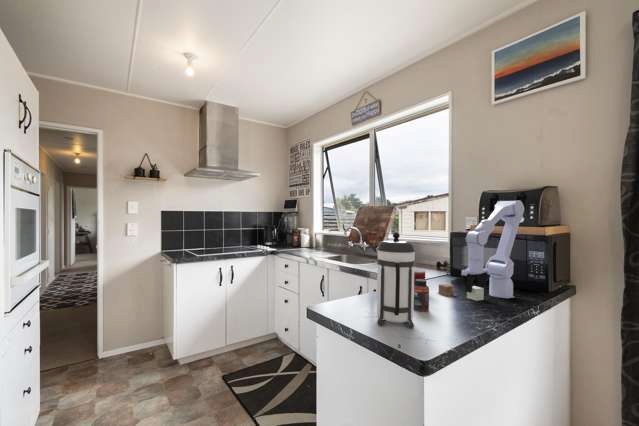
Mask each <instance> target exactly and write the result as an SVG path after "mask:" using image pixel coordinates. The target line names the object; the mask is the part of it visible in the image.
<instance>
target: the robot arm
mask: <svg viewBox="0 0 639 426" xmlns="http://www.w3.org/2000/svg"><path fill="white" fill-rule="evenodd" d="M524 213H525V206H524V203H523V202H522V200H520V199H519V200H498V201H497V202H496V204H494V210H493V211H492V212H491V214H490V215H489V216H488V218H487V219H482V220H481V221H480V222H479V224H478V225H477V226H476V227H475V228H474V230H470V231H468V232H467V234H466V237H465V242H466V244H467V245H466V246H467V248H468V256H467V257H468V258H467V260H468V263H467V266H468V267H466V269H461V273H460V277H461V280H462V281H463V283H464V288H465V291H466V293H467V292H470V293H471V292H472V286H474V285H473V284H474V280H475V278H477V279H476V280H477V287H481V288H484V290H485V288H486V285H487V283H488V282H489V285H488V287H489V289H488V292H489V293H488V295H489V296H492V297H495V298H500V299H501V298H502V299H510V298H511V299H512V298H514V282H513V280H512V279H511V278H512V276H513V275H514V265H515V262H513V260H512V259H511V258H510V257H511V253H512V249H513V246H514V242H515V239H516V236H517V232H518V229H519V226H520V223H521V221H522V218H523V216H524ZM499 221H503V222H504V226H503V230H502V233H501V236H500V240H499V242H498V245H497V249H496V251H495V254H494V255H492V256H490V257H489V259H488V261H487V262H486V264H485V268H484V257H485V256H484V254H485V253H484V249H485V245H486V244H487V242H488V238H489V236H490V234H492V232H493V231H494V230H495V228H496V226H495V225H496V223H497V224H498V222H499ZM472 275H473V276H472ZM474 275H476V277H475V276H474ZM488 280H489V281H488Z"/></svg>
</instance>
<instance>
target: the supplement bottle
mask: <svg viewBox="0 0 639 426" xmlns="http://www.w3.org/2000/svg"><path fill="white" fill-rule="evenodd" d="M415 283H416V284H415V285H414V310H413V311H417V312H425V313H426V312H429V310H430V287H429V286H428V285H427V280H426V279H425V280H424V279H416V280H415Z"/></svg>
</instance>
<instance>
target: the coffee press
mask: <svg viewBox="0 0 639 426" xmlns="http://www.w3.org/2000/svg"><path fill="white" fill-rule="evenodd" d="M392 237H393V239H385V240H382V241H380V242H379V243H378V245H377V247H376V252H377V258H376V264H377V271H376V272H377V274H376V275H377V277H376V279H377V281H376V283H377V284H376V286H377V287H376V314H377V316H378V317H379V318H378V320H377V325H379V326H381V327H382V326H384V324H385V323H386V322H391V323H404V324H405V325H406V326H407V328H408V329H413V328H414V327H415V324H414V323H413V318H414V311H415V310H414V269H415V266H416V259H415V255H416V252H417V248H415V245H414V244H413V243H412V242H411V241H409V240H405V239H404V240H402V239H399V238H400V237H401V236H400V233H399V232H394V233H393V235H392Z"/></svg>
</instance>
